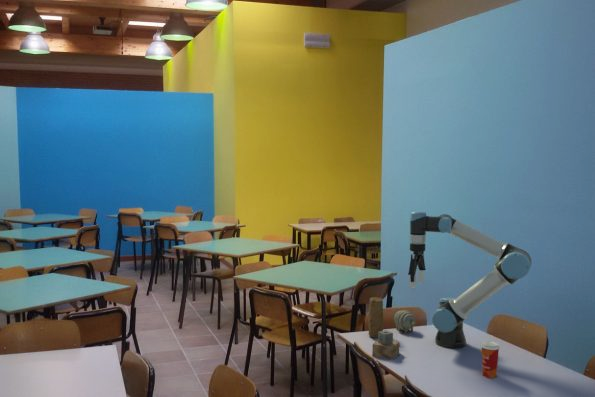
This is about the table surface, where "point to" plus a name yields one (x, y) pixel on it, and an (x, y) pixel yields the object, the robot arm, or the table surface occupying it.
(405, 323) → the cream beehive honey pot
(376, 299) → the brown oblong lump
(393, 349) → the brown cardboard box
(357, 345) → the table surface
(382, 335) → the dice cube
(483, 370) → the paper cup
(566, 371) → the table surface
